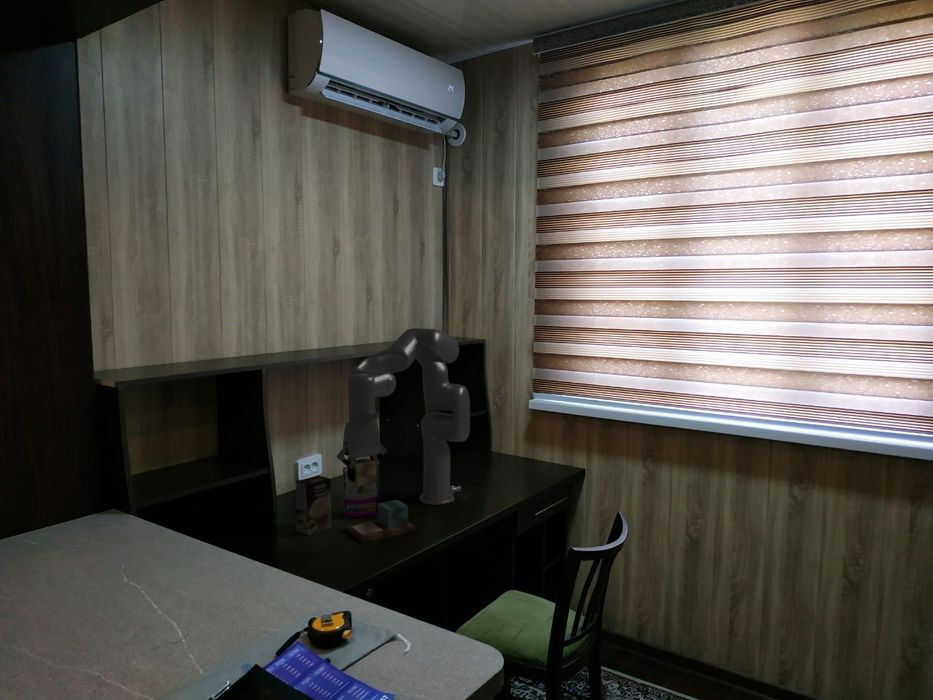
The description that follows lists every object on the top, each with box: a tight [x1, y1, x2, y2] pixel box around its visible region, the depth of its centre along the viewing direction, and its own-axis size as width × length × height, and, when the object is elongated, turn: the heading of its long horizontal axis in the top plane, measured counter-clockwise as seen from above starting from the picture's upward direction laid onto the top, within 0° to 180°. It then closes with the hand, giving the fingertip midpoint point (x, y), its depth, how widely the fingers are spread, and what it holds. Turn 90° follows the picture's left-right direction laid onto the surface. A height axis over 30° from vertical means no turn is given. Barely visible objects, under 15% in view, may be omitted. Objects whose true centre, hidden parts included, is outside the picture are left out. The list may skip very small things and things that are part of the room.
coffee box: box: [295, 475, 332, 536], centre depth 210 cm, size 9×6×16 cm
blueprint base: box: [344, 499, 416, 544], centre depth 211 cm, size 18×12×8 cm, turn 125°
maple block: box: [349, 457, 378, 486], centre depth 194 cm, size 6×6×6 cm
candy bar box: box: [342, 466, 379, 520], centre depth 224 cm, size 11×5×16 cm, turn 105°
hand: (362, 478), depth 195 cm, fingers closed on maple block, 6 cm apart
